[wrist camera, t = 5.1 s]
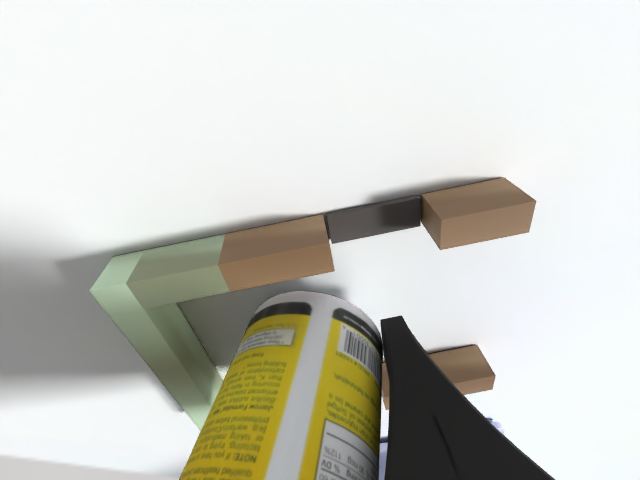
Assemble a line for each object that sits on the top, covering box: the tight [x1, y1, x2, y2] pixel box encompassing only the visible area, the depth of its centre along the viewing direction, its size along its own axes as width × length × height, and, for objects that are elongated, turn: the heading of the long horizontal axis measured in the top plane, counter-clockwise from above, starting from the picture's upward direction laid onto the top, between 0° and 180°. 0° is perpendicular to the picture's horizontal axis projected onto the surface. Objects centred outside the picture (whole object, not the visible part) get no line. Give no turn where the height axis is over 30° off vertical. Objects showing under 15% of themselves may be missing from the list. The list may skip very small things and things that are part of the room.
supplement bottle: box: [179, 291, 383, 480], centre depth 9 cm, size 5×5×8 cm
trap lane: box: [89, 178, 536, 431], centre depth 12 cm, size 9×12×2 cm
